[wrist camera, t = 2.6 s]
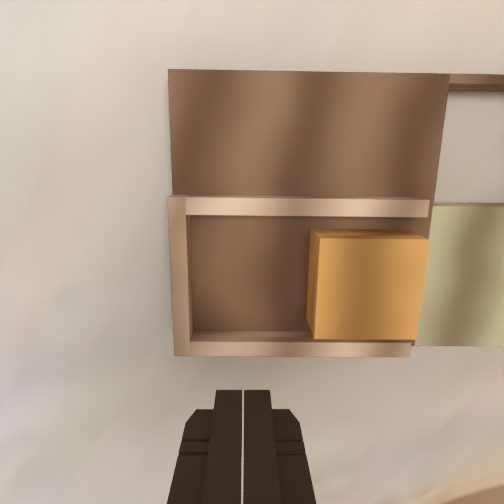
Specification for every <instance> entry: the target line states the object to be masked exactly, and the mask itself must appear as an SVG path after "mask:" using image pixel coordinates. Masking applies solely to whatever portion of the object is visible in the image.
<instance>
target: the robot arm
mask: <svg viewBox="0 0 504 504" xmlns="http://www.w3.org/2000/svg"><path fill="white" fill-rule="evenodd" d="M241 458H242V390H216V396H215V404H214V409H196V411H195V412H194V413H193V414H192V416H191V417H190V418H189V419H188V421H187V422H186V424H185V428H184V432H183V437H182V442H181V445H180V449H179V456H178V458H177V462H176V467H175V471H174V475H173V480H172V484H171V488H170V492H169V497H168V501H167V504H241ZM243 504H316V500H315V495H314V491H313V486H312V481H311V476H310V471H309V466H308V461H307V457H306V453H305V447H304V442H303V437H302V432H301V428H300V423H299V421H298V420H297V419H296V417H295V416H294V415H293V414H292V412H291V411H290V410H289V409H272V406H271V396H270V390H244V492H243Z"/></svg>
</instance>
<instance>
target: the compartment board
mask: <svg viewBox="0 0 504 504" xmlns="http://www.w3.org/2000/svg"><path fill="white" fill-rule="evenodd" d="M168 85H169V110H170V135H171V161H172V186H173V195H171V196H169V197H168V219H169V242H170V266H171V289H172V312H173V335H174V356H266V357H410V350H411V346H504V203H433V202H434V195H435V187H436V179H437V172H438V164H439V157H440V149H441V141H442V134H443V126H444V119H445V111H446V103H447V96H448V90H454V91H504V75H493V74H432V73H372V72H311V71H251V70H190V69H168ZM311 229H391V230H408V231H411V232H413V233H415V234H418V235H420V236H422V237H425V238H427V239H430V240H429V247H428V255H427V262H426V270H425V277H424V285H423V293H422V300H421V308H420V315H419V323H418V330H417V338H416V340H376V339H314V337H313V335H312V332H311V329H310V327H309V324H308V322H307V319H306V310H307V291H308V271H309V252H310V233H311Z"/></svg>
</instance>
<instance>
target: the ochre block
mask: <svg viewBox="0 0 504 504" xmlns="http://www.w3.org/2000/svg"><path fill="white" fill-rule="evenodd" d="M429 240H430V239H427V238H425V237H422V236H420V235H418V234H415V233H413V232H411V231H408V230H391V229H311V233H310V252H309V271H308V291H307V310H306V319H307V322H308V324H309V327H310V329H311V332H312V335H313V337H314V339H376V340H416V338H417V330H418V323H419V315H420V308H421V300H422V293H423V285H424V277H425V270H426V262H427V255H428V247H429Z"/></svg>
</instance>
